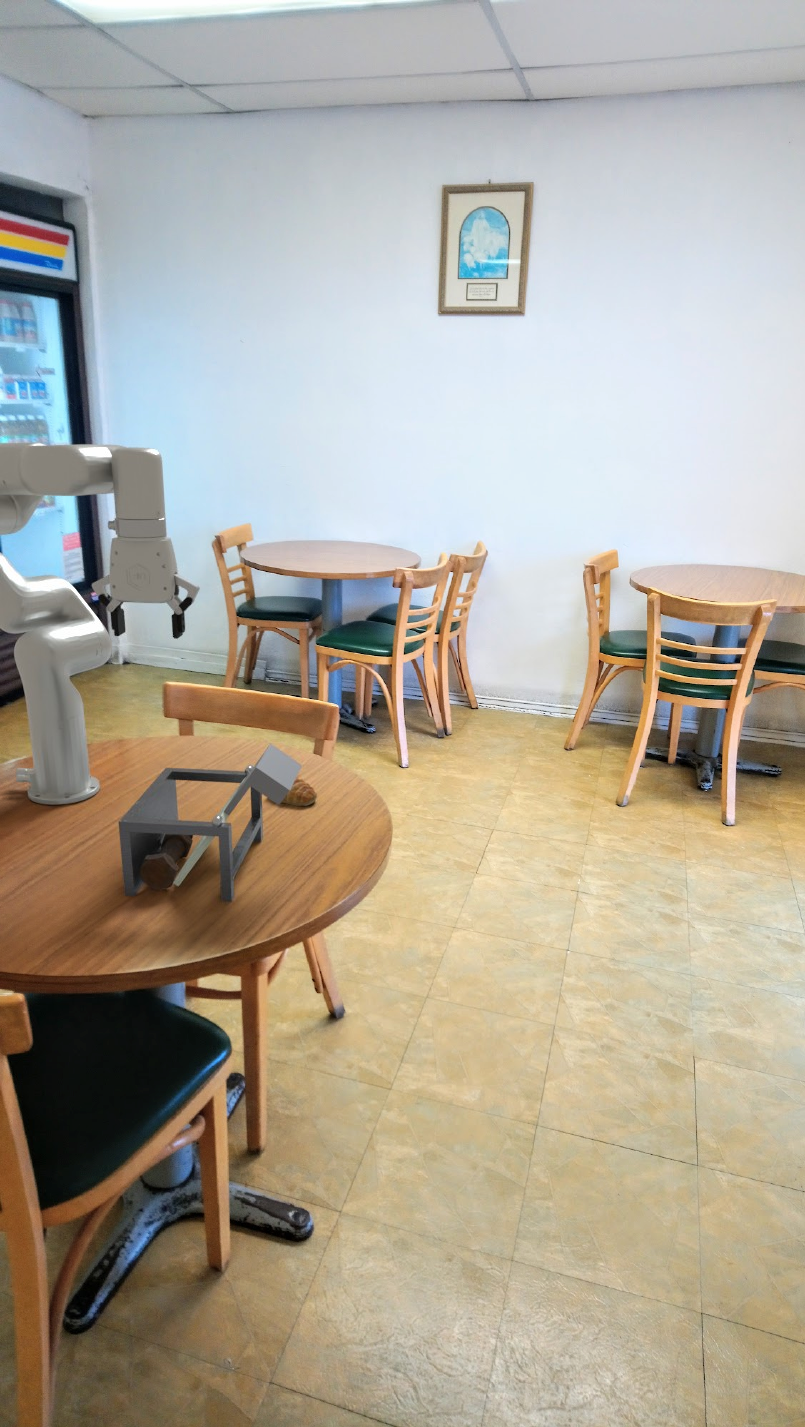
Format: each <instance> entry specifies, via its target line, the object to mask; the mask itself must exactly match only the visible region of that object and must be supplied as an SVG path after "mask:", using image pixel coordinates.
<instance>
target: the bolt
mask: <svg viewBox="0 0 805 1427" xmlns="http://www.w3.org/2000/svg"><path fill="white" fill-rule="evenodd" d="M193 838H194V835H180V834H165V836H164V839H163V841H162V845H161V850H160V851H159V853H158V854H156V855H148V856H146V858H145V859H144V861H143V864H142V867H141V870H140V873H139V876H140V878H141V879H142V881H143V882H144V884H145V885H146V886H147V887H148V888H150V890H154V891H155V890H158V891H159V890H164V889H169V888H171V887H173V884H174V883H173V882H174V880H175V879H176V877H177V875H178V871H179V868H180V867H179V865H177V864H178V862H179V860H180V859H184V858H188V855H189V853H190V850H191V848H192V845H193Z"/></svg>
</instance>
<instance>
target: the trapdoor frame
mask: <svg viewBox="0 0 805 1427" xmlns="http://www.w3.org/2000/svg"><path fill="white" fill-rule="evenodd" d="M253 767H254V765H253V764H248V765H247V766H246V768H245V769H244V771H243V770H228V769H227V770H226V769H225V770H224V769H223V770H222V769H203V768H186V767H185V768H182V767H181V768H180V767H164V770H163V771H162V772H161V773H160V774H158V776H157V777H156V778H155V779H154V781H152V783H151V784H150V785H149V786H148V788H147V789H146V790H145V791H144V792H143V793H142V794H141V795H140V797H139V798H138V799H137V800H136V801H135V802H134V803H133V804H132V806H131V807H130V808H129V809H128V810H127V811H126V812H125V813H124V815H123V816H122V817H121V819H119V821H118V831H119V843H120V844H119V846H120V854H121V868H122V878H123V890H124V896H125V897H136V896H137V893H139V891H140V890H141V889H142V887H143V885H144V884H145V883H144V882H143V881H142V879H141V878H140V876H139V873H140V870H141V867H142V864H143V861H144V859H145V858H146V856H148V855H156V854H158V853H159V851H160V850H161V845H162V841H163V839H164V836H165V834H180V835H193V836H215V837H218V848H219V849H218V852H219V874H220V875H219V876H220V895H221V897H220V898H221V902H227V903H228V902H229V903H233V900H234V898H235V884H234V879H235V877H236V875H237V873H238V872H239V870H240V867H241V865H242V862H243V861H244V859H245V857H246V855H247V853H248V851H249V850H250V847H251V845H252V843H253V842H258V843H261V842H262V841H263V839H264V826H263V825H264V824H263V822H264V821H263V820H264V818H263V794H261V793H260V792H258V791H257V790H256V789H254V788H253V787H250V807H251V808H250V809H251V810H250V812H251V817H250V819H249V821H248V823H247V824H246V825H245V828H244V830H243V831H242V833H241V836H240V837H239V839H238V841H237V842H236V845H235V847H234V849H233V836H232V835H233V834H232V833H233V832H232V830H233V829H232V822H225V823H222V820H223V817H222V816H221V815H218V814H216V815H214V817H213V819H212V821H202V820H201V821H200V820H179V811H178V796H177V794H178V793H177V781H187V782H189V781H190V782H192V781H193V782H210V783H211V782H212V783H213V782H214V783H227V784H228V783H230V784H231V783H232V784H233V783H234V784H241V782H242V781H243V779H244V778H245V777H247V775H248V774H249V773H250V771H251V770H252V768H253Z"/></svg>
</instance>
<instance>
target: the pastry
mask: <svg viewBox="0 0 805 1427" xmlns="http://www.w3.org/2000/svg"><path fill="white" fill-rule="evenodd" d="M317 798H318V794H317V792H316V791H315V789H314V787H312V786H311V785H310V784H309V783H308V782H305V780H304V779H302V778H299V777H298V776H297V777H296V779H295V781H294V783H293V785H292V787H291V790H290V791H289V793H288V794H287V795H286V797H285V798H284V799H283V801H282V802H281V803H282V804H286V805H290V806H296V807H300V806H301V807H302V806H303V807H307V806H310V805H311V804H313V803H315V802H316V800H317Z"/></svg>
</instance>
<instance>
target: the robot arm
mask: <svg viewBox="0 0 805 1427" xmlns="http://www.w3.org/2000/svg"><path fill="white" fill-rule="evenodd" d="M164 490H165V488H164V471H163V459H162V455H161V453H160V452H159V451H158V450H157V449H155V448H150V447H138V446H137V447H134V446H133V447H130V446H129V447H126V446H123V445H120V444H119V445H117V444H97V443H95V444H94V443H93V444H89V443H88V444H86V443H85V444H84V443H81V444H54V445H53V444H52V445H46V444H45V443H42V442H38V441H37V442H36V441H35V442H34V441H33V442H31V441H30V442H29V441H28V442H0V536H5V535H11V534H15V533H18V532H20V531H22V530H23V529H24V528H25V527H26V525H27V524H28V523H29V521H30V519H31V518H32V517H33V515H34V514H35V511H36V510H37V508H38V507H39V505H40V503H41V502H42V500H43V499H44V497H45V496H47V497H49V496H51V497H52V496H54V497H55V496H59V497H76V496H89V495H108V494H109V495H110V494H113V499H114V511H115V513H114V514H115V517H114V520H108V522H107V528H108V530H113V531H115V535H116V537H113V538H111V543H110V550H109V551H110V552H109V572H108V573H109V574H108V575H105V576H104V577H101V578H100V579H97V581H94V582H92V583H91V587H92V589H93V591H94V593H95V594H96V596H97V599H98V601H99V602H100V603H101V604H102V605H103V606H104V607H105V608H106V610H107V611H108V612H110V613H109V614H110V626H111V630H113V634H114V635H113V636H114V637H119V636H122V635H123V634H125V633H126V629H127V628H126V618H125V609H124V608H122V605H123V604H124V603H134V604H135V603H136V604H165V603H166V604H167V606H168V607H169V608H170V609H171V610H172V611H173V613H172V614H171V628H172V629H171V631H172V638H173V639H175V640H176V639H177V640H178V639H179V638H180V637H182V636H183V634H184V633H185V632H186V620H185V616H186V615H185V612H186V611H187V610H188V609H189V608H190V607H191V605H192V604H193V603H194V602H195V599H196V598H197V595H198V593H199V592H200V589H201V588H200V586H199V584H197V583H194V582H192V581H191V580H189V579H187V578H185V577H183V576H181V575H179V570H178V564H177V560H176V553H175V549H174V545H173V543H172V538H171V537H168V534H167V521H166V520H167V518H166V507H165V506H166V504H165V502H166V501H165V491H164ZM107 585H109V592H110V594H109V593H108V592H107V591H106V586H107ZM180 588H182V589H184V590H186V591H187V595H186V596H185V598H184V599H183V600H182V599H181V598H180V597H179V595H180ZM0 629H1V630H2V631H4V633H5V632H6V633H8V634H21V636H20V637H18V639H17V640H16V642H15V645H14V649H13V656H14V662H15V664H16V668H17V671H18V673H19V676H20V680H21V683H22V686H23V692H24V697H25V704H26V713H27V719H28V727H29V737H30V744H31V754H32V762H33V768H28V767H27V768H26V767H18V768H16V771H15V779H16V780H15V781H16V782H17V783H28V784H30V786H29V787H28V789H27V796H28V798H29V800H31V801H33V802H35V803H37V804H39V805H40V804H41V805H50V806H52V805H56V806H57V805H69V804H74V803H78V802H82V801H84V800H87V799H89V798H91V797H93V796H95V795H96V794H97V793H98V792H99V790H100V788H101V785H100V781H99V779H98V778H96V777H94V776H92V775H91V774H90V772H91V771H90V763H89V762H90V761H89V752H88V743H87V742H88V740H87V732H86V720H85V711H84V703H83V699H82V696H81V694H80V692H79V690H78V689H77V688H76V687H75V685H74V684H73V683H72V681H71V679H70V677H71V676H74V675H77V674H79V673H80V674H81V673H83V672H86V671H90V670H94V669H96V668H99V667H101V666H103V665H104V664H106V663H107V662H109V659H110V658H111V656H112V653H113V652H112V651H113V644H112V639H111V636H110V634H109V632H108V630H107V628H106V627H105V625H104V624H103V622H102V621H101V620H100V619H99V617H98V616H97V615H96V613H95V612H94V611H93V610H92V609H91V607H90V606H89V604H88V603H87V602H86V601H85V599H84V598H83V597H82V596H81V594H80V593H79V592H78V590H77V589H76V587H74V586H73V585H72V584H71V583H70V582H69V581H68V580H66V579H64V578H63V577H61V576H58V575H54V574H44V575H38V576H30V577H29V576H24V575H22V574H21V573H20V572H19V571H18V570H17V569H16V568H15V566H14V565H13V564H12V563H11V561H10V560H9V559H8V557H7V556H6V555H4V554H3V553H2V552H0ZM23 633H24V634H23Z"/></svg>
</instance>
